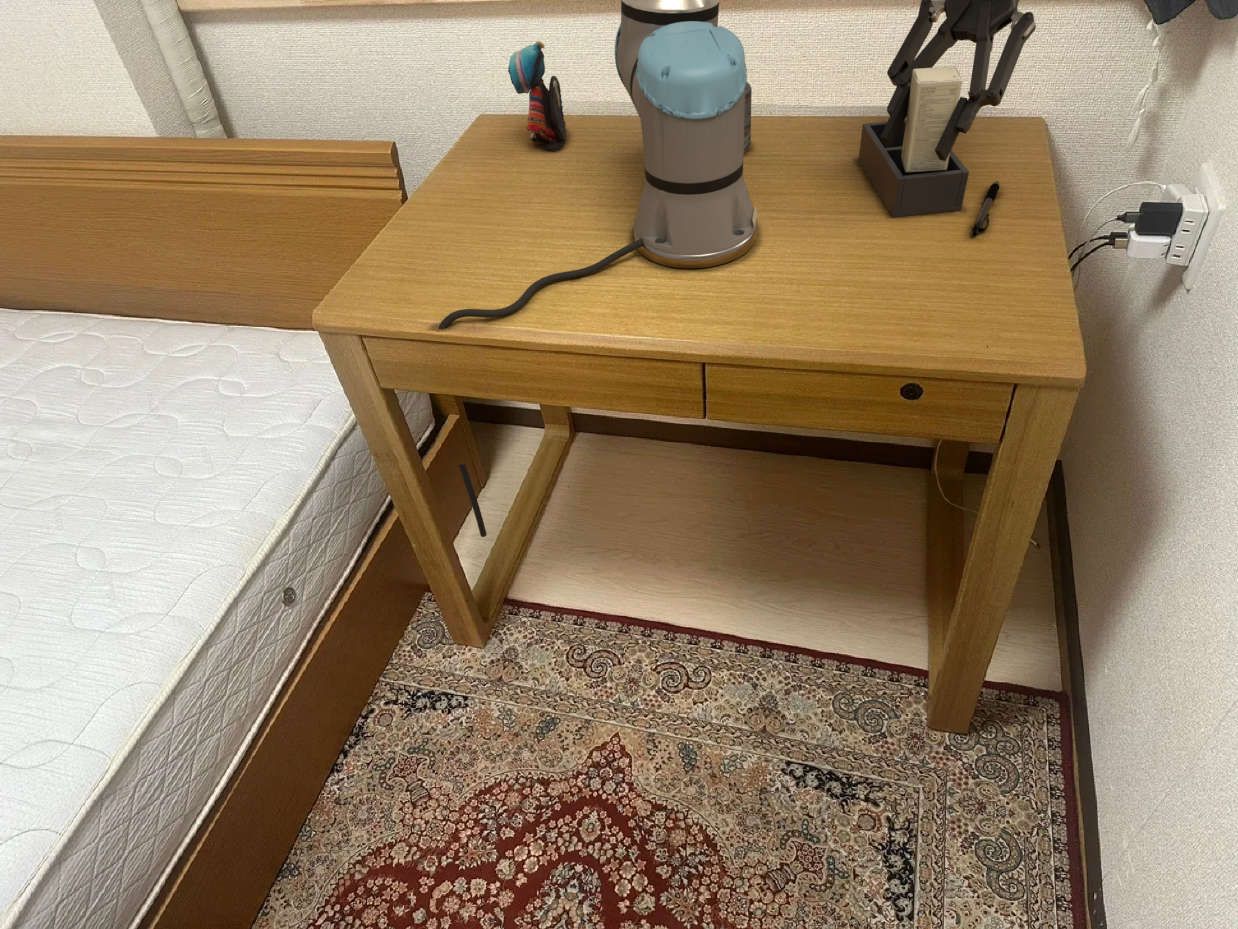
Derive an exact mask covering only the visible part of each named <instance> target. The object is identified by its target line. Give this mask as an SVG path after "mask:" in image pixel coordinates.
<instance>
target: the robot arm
mask: <svg viewBox="0 0 1238 929" xmlns="http://www.w3.org/2000/svg"><path fill="white" fill-rule="evenodd" d="M1020 1H1021V0H921V1H920V4H919V10H918V15H917V16H916V18H915V21H914V22H913V24H912V26H911V28H910V29H909V31H908V33H907V35H906V37H905V38H904V41H903V42H902V44H901V46H900V47H899V50H898V51H897V53H896V55H895V56H894V58H893V61H892V62H891V64H890V65H889V67H888V69H887V71H886V74H887V76H888V78H889V80H890V82H891V84H892V85H893V86H895V90H894V92H893V94H892V96H891V98H890V100H889V102H888V104H887V107H886V112H887V114H888V115H889V118H888V119H887V120H886V121H887V124H886V126H885V128H884V130H883V132H882V134H881V136H880V138H881V139H882V141H883V142H884V144H885V146H886V147H890V148H892V146H893V144H894V142H895V140H896V137H897V135H898V133H899V131H900V129H901V127H902V125H903V123H904V121H905V119H906V118H907V110H908V103H909V95H910V87H911V80H912V73H913V69H920V68H934V66H935V65H936V64H937V62H938V61H940V59H941V58H942V57H943V55H945V53H946V52H947V51H948V50H949V49H951V48H953V47H954V46H955V45H956V43H958V41H970V42H972V43H973V44H975V48H974V56H973V63H972V64H973V65H972V71H971V76H970V77H971V78H970V83H969V90H968V91H967V95H968V98H967V97H964V96H960V97H959V101H958V103H957V105H956V107H955V109H954V112H953V114H952V116H951V118H950V120H949V122H948V124H947V126H946V128H945V130H944V132H943V134H942V136H941V138H940V141H939V143H938V145H937V147H936V149H935V152H936V154H937V156H938V158H939V160H942V161H946V159H947V157H948V155H949V153H950V151H951V149H952V150H953V147H954V145H955V143H956V141H957V139H958V136H959V134H960V133H962V134H968V132H969V130H970V129H971V127H972V124H974V121H975V119H976V117H977V115H978V113H979V111H980V109H981V108H983V107H986V106H992V107H998V106H999V105H1001V103H1002V100H1003V97H1004V95H1005V93H1006V90H1007V88H1008V86H1009V83H1010V80H1011V77H1012V75H1013V72H1014V70H1015V68H1016V65H1017V62H1018V60H1019V57H1020V55H1021V52H1022V50H1023V48H1024V45H1025V44H1026V42H1027V41H1028V39H1029V38H1030V37H1031V36H1032V35H1033V34H1034V32H1035V30H1036V29H1037V25H1036V21H1035V20H1036V19H1035V16H1034V13H1033V12H1032V11H1026V12H1022V11H1020V10H1018V6H1019V2H1020ZM719 13H720V0H620V24H619V26H618V29H617V32H616V35H615V39H614V40H615V41H614V61H615V67H616V71H617V75H618V77H619V79H620V82H621V83H622V85H623V87H624V88H625V91H627V93H628V96H629V98H630V100H631V102H632V104H633V106H634V108H635V110H636V112H637V115H638V117H639V119H640V125H641V126H640V127H641V136H642V137H641V138H642V151H643V166H644V167H643V168H644V185H643V189H642V192H641V196H640V200H639V204H638V207H637V211H636V215H635V218H634V223H633V238H634V239H633V240H634V241H633V242H631V243H630V244H627V245H625V246H624V247H621V248H619V249H618V250H616V251H614V252H612V253H611V254H609V255H607V256H606V257H604V258H602V259H601V260H599V261H597V262H595V263H593V264H592V265H589V266H585V267H582V268H578V269H574V270H567V271H562V272H557V273H553V274H549V275H546V276H544V277H541V278H539V279H537V280H536V281H534V282H533V283H532V284H531V285H530V286H528V287H527V289H525V291H524V292H523V293H522V295H521V296H520V297H519V298H518V299H517V300H516V301H515V302H513V303H511V304H510V305H507V306H505V307H502V308H497V309H486V308H485V309H482V308H464V309H458V310H455V311H453V312H451V313H449V314H448V315H446V316H445V317H444V318H443V319H442V320H441V322H440V323H439V325H438V328H437V329H438V330H446V329H447V328H448V327H449V326H450V325H451V324H452V323H454V322H455V321H456V320H459V319H462V318H471V317H473V318H501V317H505V316H508V315H511V314H513V313H516V312H517V311H518V310H520V309H521V308H522V307H524V306H525V305H526V304H527V303H528V302H529V300H530V299H531V297H533V295H534V294H535V293H536V292H537V291H539V290H540V289H541V288H543V287H544V286H546V285H549V284H551V283H552V284H553V283H554V282H559V281H563V280H565V281H566V280H570V279H575V278H581V277H585V276H588V275H590V274H594V273H596V272H598V271H600V270H602V269H604V268H605V267H607V266H610V264H612V263H614V262H616V261H618V260H619V259H622V257H624V256H626V255H629V254H630V253H632V252H634V251H636V250H638V252H639V253H640V254H641V255H642V256H643V257H644V258H646V259H648V260H650V261H652V262H654V263H657V264H659V265H663V266H666V267H670V268H671V267H672V268H677V269H702V268H710V267H716V266H720V265H723V264H727V263H729V262H732V261H734V260H737V259H738V258H740V257H741V256H743V255H745V254H746V253H747V252H749V250H751V248H752V247H753V246H754V244H755V243H756V240H757V236H758V235H757V234H758V219H757V216H758V210H757V207H756V206H754V205H753V203H752V199H751V195H750V194H749V190H748V187H747V184H746V180H745V179H744V154H745V153H744V114H745V87H746V82H748V74H747V72H748V69H747V65H746V54H745V48H744V45H743V43H742V42H741V40H740V39H739V37H738V36H737V35H736V34H735V33H734V32H733V31H731V30H730V29H728V28H726V27H724V26H722V25H720V26H718V25H719ZM943 13H944V14H945V17H946V18H945V20H943V22H942V23H941V24H940V25H939V26H938V29H937V31H936V33H935V35H934V36H933V37H932V38H931V39H930V40H929V42H928V43H927V44H926V45H925V46H924V47H923V49H922V46H923V45H924V43H925V41H926V39H928V38H927V37H928V36H929V35H930V32H931V30H932V28H933V25H934V23H937V22H938V20H939V18H940V16H941V14H943ZM1009 25H1010V32H1009V34H1008V37H1007V39H1006V42H1005V44H1004V47H1003V49H1002V52H1001V55H1000V57H999V59H998V63H997V65H996V67H995V70H994V72H993V75H992V78H991V79H990V82H989V84H988V88H987V81H988V73H989V68H990V60H991V53H992V52H993V46H994V39H995V35H997V34H998V33H999V32H1001V31H1002V30H1004V28H1006V27H1007V26H1009ZM921 49H922V50H921ZM458 469H459V472H460V474H461V477H462V479H463V480H462V481H463V483H464V486H465V490H466V491H467V495H468V498H469V501H470V504H471V507H472V510H473V513H474V517H475V520H476V524H477V528H478V531H479V535H480V537H481V538H485V537H487V535H488V534H487V529H486V526H485V522H484V519H483V515H482V512H481V508H480V505H479V502H478V499H477V496H476V495H477V494H476V492H475V489H474V486H473V484H472V480H471V477H470V474H469V471H468V468H467V465H466V463H464V464H463V463H462V464H458Z"/></svg>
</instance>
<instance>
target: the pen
mask: <svg viewBox="0 0 1238 929" xmlns="http://www.w3.org/2000/svg"><path fill="white" fill-rule="evenodd" d="M999 190H1000V181H999V180H995V181H993V183H992V184H991V185H990V187H989V189H988V191H987V193H986V195H985V198H984V202H983V204H982V207H981V209H980V211H979V214H978V216H977V218H976V220H975V222H974V224H973V226H972V229H971V230H972V237H976V236H978V234H980V233H983V232H986V230H987V229H988V228H989V226H990V215H991V214H990V213H989V212H990V209H991V207H992V205H993V203H994V201H995V200H996V198H997V195H998V192H999ZM985 221H986V225H984V224H985Z"/></svg>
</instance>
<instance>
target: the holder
mask: <svg viewBox="0 0 1238 929" xmlns="http://www.w3.org/2000/svg"><path fill="white" fill-rule="evenodd" d="M887 121H888V120H886V121H878V122H870V123H863V124H862V127H861V135H860V136H861V137H860V143H859V153H858V162H859V163H860V165H861V167H862V169H863V170H864V172H865V174H866V176H867V177H868V179H869V181H870V182H871V184H872V185H873V188H874V189H875V191H876V192H877V194H878V196H879V198H880V199H881V201H882V203H883V205H884V206H885V208H886V209H887V211H888V213H889V214H890V216H891V218H901V217H911V216H920V215H921V216H922V215H930V214H940V213H941V214H942V213H950V212H960V211H961V212H962V209H963V208H962V207H963V203H964V198H965V193H966V188H967V183H968V180H969V179H968V178H969V175H970V171H969V169H967V167H966V165H964V163H963V162H962V161H961V160H960V158H959V157H958V156H957V154H956V153H955V152H954V150H953V148H952V149H951V151H950V155H949V161H948V166H947V170H939V171H923V172H905V169H904V166H903V163H902V158H901V155H902V148H903V140H904V133H905V126H906V119H905V121H904V123H903V125H902V127H901V129H900V131H899V133H898V135H897V137H896V140H895V142H894V144H893V146H892V148H890V147H886V146H885V144H884V142H883V141H882V139H881V138H880V136H881V134H882V132H883V130H884V128H885V126H886V124H887Z"/></svg>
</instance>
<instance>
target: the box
mask: <svg viewBox="0 0 1238 929" xmlns="http://www.w3.org/2000/svg"><path fill="white" fill-rule="evenodd" d="M962 85H963V78H962V76H961V74H960V72H959V70H958V69H957V67H956V65H948V66H937V67H932V68H920V69H913V73H912V80H911V87H910V95H909V103H908V110H907V116H906V126H905V133H904V140H903V148H902V155H901V158H902V163H903V166H904V169H905V172H923V171H939V170H947V166H948V161H949V155H950V153H949V155H948V157H947V159H946V161H942V160H939V158H938V156H937V154H936V152H935V149H936V147H937V145H938V143H939V141H940V138H941V136H942V134H943V132H944V130H945V128H946V126H947V124H948V122H949V120H950V118H951V116H952V114H953V112H954V109H955V107H956V105H957V103H958V101H959V99H960V97H961V96H960V95H961V90H962Z"/></svg>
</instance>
